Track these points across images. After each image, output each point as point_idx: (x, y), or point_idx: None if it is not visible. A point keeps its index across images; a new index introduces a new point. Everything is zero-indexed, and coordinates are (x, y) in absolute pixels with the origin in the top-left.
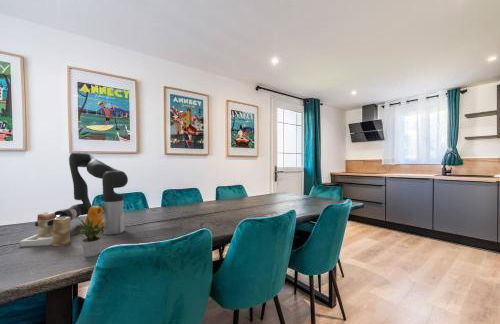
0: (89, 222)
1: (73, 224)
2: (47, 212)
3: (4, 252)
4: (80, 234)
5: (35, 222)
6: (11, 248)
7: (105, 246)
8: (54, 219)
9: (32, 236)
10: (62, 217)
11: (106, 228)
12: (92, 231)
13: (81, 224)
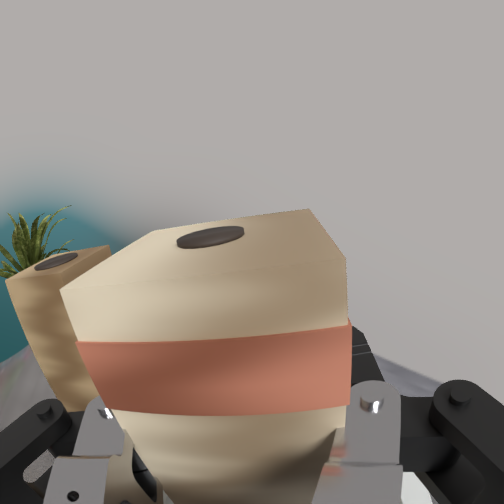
0: (19, 239)
1: (62, 219)
2: (236, 264)
3: (372, 353)
4: (58, 249)
5: (352, 328)
6: (401, 388)
7: (6, 362)
8: (102, 247)
9: (412, 481)
10: (45, 272)
11: (1, 262)
12: (23, 269)
13: (47, 224)
